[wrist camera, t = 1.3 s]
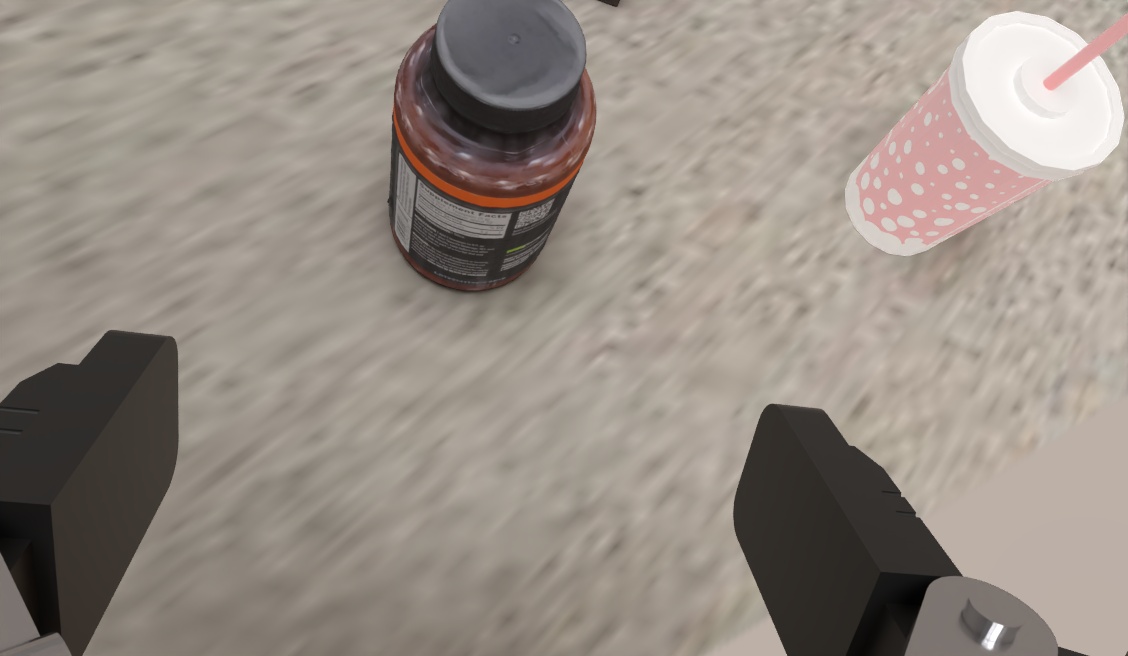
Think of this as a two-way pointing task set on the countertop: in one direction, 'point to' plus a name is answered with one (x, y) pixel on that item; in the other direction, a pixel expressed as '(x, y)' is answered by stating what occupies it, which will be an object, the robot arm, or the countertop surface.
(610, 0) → the frame
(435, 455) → the countertop surface
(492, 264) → the supplement bottle
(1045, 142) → the beverage cup
